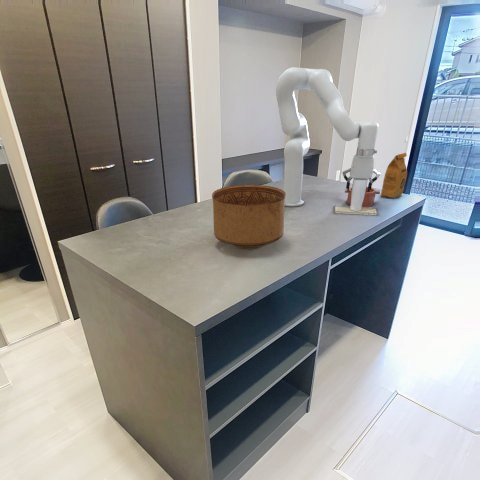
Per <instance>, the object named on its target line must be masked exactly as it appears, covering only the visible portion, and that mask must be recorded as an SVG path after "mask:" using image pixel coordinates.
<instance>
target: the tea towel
mask: <svg viewBox="0 0 480 480" xmlns="http://www.w3.org/2000/svg"><path fill="white" fill-rule="evenodd" d="M350 206H351V205H334V214H340V215H342V214H343V215H357V216H359V215H360V216H361V215H362V216H378V212H377V209H376V207H373V206H368V207H361V210H360V211H352V210H351V209H350Z"/></svg>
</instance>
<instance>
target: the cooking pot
mask: <svg viewBox="0 0 480 480" xmlns="http://www.w3.org/2000/svg"><path fill="white" fill-rule="evenodd" d="M367 189H368V186H367V187H366V192H365V195H364V199H363V203H362V207H373V205H374V203H375V198H376V195H381V191H380V190H379V189H376V188H373V187H371V190H370V191H369V192H368V191H367ZM344 193H345V194H347V198H346V204H348V206H351V195H352V186H351V187H349V191H347V189H346V188H345V189H344Z"/></svg>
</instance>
